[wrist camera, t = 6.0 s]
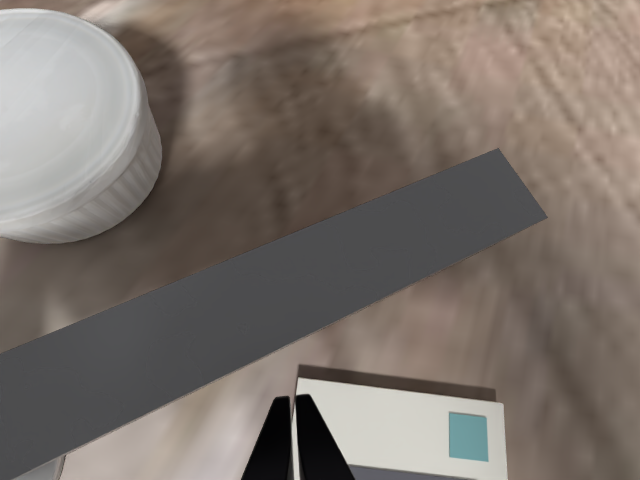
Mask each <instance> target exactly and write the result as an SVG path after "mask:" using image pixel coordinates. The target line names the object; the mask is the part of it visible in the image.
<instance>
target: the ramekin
mask: <svg viewBox="0 0 640 480" xmlns="http://www.w3.org/2000/svg"><path fill="white" fill-rule="evenodd" d="M161 161H162V145H161V138H160V134H159V132H158V129H157V126H156V124H155V121H154V118H153V115H152V113H151V110H150V107H149V105H148V96H147V90H146V86H145V83H144V80H143V78H142V76H141V73H140V71H139V69H138V68H137V66H136V64H135V62H134V61H133V59H132V58H131V56H130V55H129V53H128V52H127V50H126V49H125V48H124V47H123V46H122V45H121V44H120V42H119V41H118V40H117V39H115V38H114V37H113V36H112V35H110V34H109V33H108V32H106V31H105V30H103V29H102V28H100V27H98V26H97V25H95V24H93V23H91V22H89V21H86V20H84V19H81V18H79V17H76V16H73V15H70V14H67V13H64V12H59V11H53V10H45V9H33V8H29V9H27V8H19V9H5V10H0V237H2V238H8V239H12V240H17V241H21V242H27V243H40V244H51V243H57V244H59V243H66V242H75V241H78V240H82V239H87V238H89V237H92V236H95V235H98V234H100V233H102V232H104V231H106V230H108V229H111V228H112V227H114V226H115V225H116V224H118V223H120V222H122V221H123V220H124V219H125V218H126V217H128V216H129V215H130V214H132V213H133V212H134V211H135V209H136V208H138V207H139V206H140V205H141V203H142V202H143V201H144V200H145V198H146V197H147V196H148V195H149V193H150V191H151V190H152V189H153V187H154V184H155V182H156V180H157V178H158V174H159V171H160V169H161Z"/></svg>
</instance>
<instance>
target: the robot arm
mask: <svg viewBox="0 0 640 480" xmlns="http://www.w3.org/2000/svg"><path fill="white" fill-rule="evenodd" d="M295 408H296V427H297V445H298V461H299V477H300V480H356V479H355V477H354V475H353V473H352V471H351V470H350V468H349V466H348V464H347V462H346V460H345V458H344V456H343V455H342V453H341V451H340V449H339V447H338V445H337V443H336V441H335V440H334V438H333V436H332V434H331V432H330V430H329V428H328V426H327V425H326V423H325V421H324V419H323V417H322V415H321V413H320V411H319V410H318V408H317V406H316V404H315V402H314V400H313V398H312V397H311V395H310V394H299V395H296V396H295ZM241 480H294V461H293V439H292V418H291V404H290V397H289V396H280V397H276V398H275V399H274V400H273V402H272V405H271V407H270V410H269V412H268V415H267V417H266V420H265V422H264V424H263V427H262V429H261V432H260V434H259V437H258V439H257V441H256V444H255V446H254V449H253V451H252V454H251V456H250V458H249V461H248V463H247V466H246V468H245V471H244V473H243V476H242V478H241Z"/></svg>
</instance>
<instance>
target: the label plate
mask: <svg viewBox="0 0 640 480" xmlns="http://www.w3.org/2000/svg"><path fill="white" fill-rule="evenodd" d="M299 394H310V395H311V397H312V398H313V400H314V402H315V404H316V406H317V408H318V410H319V411H320V413H321V415H322V417H323V419H324V421H325V423H326V425H327V426H328V428H329V430H330V432H331V434H332V436H333V438H334V440H335V441H336V443H337V445H338V447H339V449H340V451H341V453H342V455H343V456H344V458H345V460H346V462H347V464H348V466H349V468H350V470H351V471H352V473H353V475H354V477H355V479H356V480H508V477H507V460H506V443H505V426H504V408H503V403H499V402H494V401H486V400H478V399H470V398H462V397H454V396H446V395H438V394H430V393H422V392H414V391H406V390H398V389H390V388H382V387H374V386H366V385H358V384H350V383H342V382H334V381H326V380H318V379H311V378H303V377H298V383H297V390H296V395H299ZM292 439H293V461H294V480H300V477H299V461H298V445H297V427H296V408H295V405H294V413H293V420H292Z"/></svg>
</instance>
